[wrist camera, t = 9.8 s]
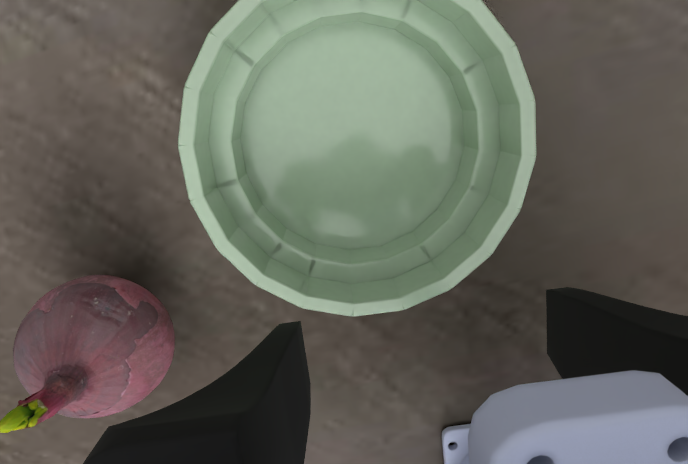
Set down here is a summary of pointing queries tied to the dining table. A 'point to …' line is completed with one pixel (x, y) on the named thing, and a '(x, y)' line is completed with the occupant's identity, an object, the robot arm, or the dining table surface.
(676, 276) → the dining table surface
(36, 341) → the vegetable
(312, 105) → the bowl
